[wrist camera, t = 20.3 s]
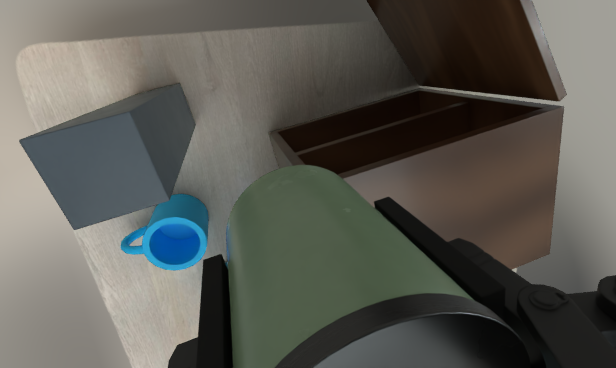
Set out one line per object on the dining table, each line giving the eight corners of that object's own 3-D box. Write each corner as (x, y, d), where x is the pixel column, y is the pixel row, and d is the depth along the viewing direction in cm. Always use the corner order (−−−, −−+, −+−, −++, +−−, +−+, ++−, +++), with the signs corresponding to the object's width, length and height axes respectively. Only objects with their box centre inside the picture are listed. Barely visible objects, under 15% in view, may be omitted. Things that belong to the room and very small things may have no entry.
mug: (200, 188, 50) (197, 210, 42) (214, 232, 53) (214, 260, 45) (118, 207, 47) (99, 234, 40) (138, 253, 51) (124, 285, 43)
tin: (201, 189, 14) (174, 412, 5) (350, 144, 15) (542, 260, 6) (249, 308, 17) (285, 584, 8) (372, 262, 18) (525, 460, 9)
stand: (135, 94, 43) (17, 140, 18) (179, 82, 44) (129, 111, 19) (153, 136, 45) (73, 230, 20) (195, 125, 46) (170, 200, 21)
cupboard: (268, 132, 49) (309, 189, 27) (420, 88, 53) (564, 106, 31) (296, 229, 57) (346, 336, 35) (428, 184, 61) (549, 254, 38)
